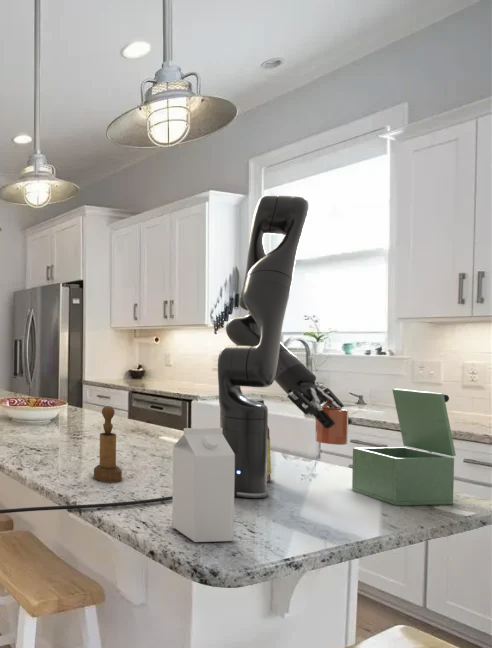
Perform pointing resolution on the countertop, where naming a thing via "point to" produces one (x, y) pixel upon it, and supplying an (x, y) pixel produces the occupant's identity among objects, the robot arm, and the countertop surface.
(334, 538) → the countertop surface
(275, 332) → the robot arm
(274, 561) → the countertop surface
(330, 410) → the cup
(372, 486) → the box
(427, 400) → the lid
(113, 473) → the brown wooden tall piece
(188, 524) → the milk carton
